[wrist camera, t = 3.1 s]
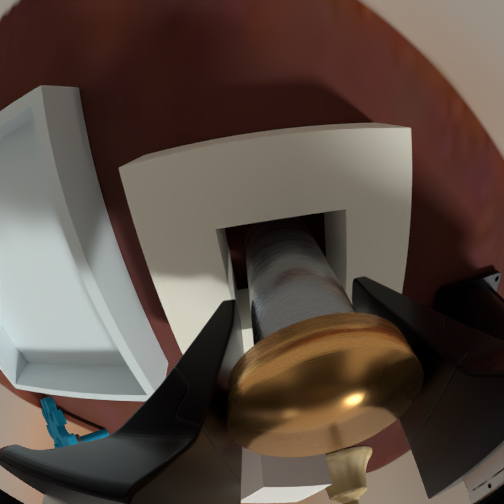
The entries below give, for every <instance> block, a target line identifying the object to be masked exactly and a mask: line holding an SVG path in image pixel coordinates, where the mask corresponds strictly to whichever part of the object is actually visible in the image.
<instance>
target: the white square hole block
mask: <svg viewBox="0 0 504 504" xmlns="http://www.w3.org/2000/svg"><path fill="white" fill-rule="evenodd" d="M119 172H120V176H121V180H122V183H123V187H124V191H125V195H126V198H127V202H128V205H129V209H130V212H131V216H132V219H133V222H134V226H135V229H136V232H137V235H138V239H139V242H140V245H141V248H142V251H143V254H144V257H145V260H146V263H147V265H148V268H149V271H150V274H151V277H152V280H153V282H154V285H155V288H156V290H157V293H158V296H159V298H160V301H161V304H162V306H163V309H164V311H165V314H166V316H167V319H168V321H169V324H170V326H171V328H172V331H173V333H174V336H175V338H176V340H177V343H178V345H179V347H180V349H181V352H182V354H184V353H185V352H186V350H187V349H188V348H189V346H190V345H191V343H192V342H193V341H194V339H195V338H196V337H197V335H198V334H199V333H200V331H201V330H202V328H203V327H204V326H205V324H206V323H207V322H208V320H209V319H210V318H211V316H212V315H213V313H214V312H215V311H216V309H217V308H218V307H219V305H220V304H221V303H222V301H225V300H231V299H235V300H236V303H237V307H238V311H239V316H240V320H241V328H242V338H243V347H244V354H245V353H246V352H247V351H248V350H249V349H250V348H251V347H253V346H254V343H253V332H252V321H251V310H250V299H249V288H246V289H240V290H237V285H236V280H235V276H234V271H233V266H232V262H231V257H230V252H229V247H228V242H227V237H226V233H225V228H226V227H232V226H238V225H245V224H251V223H257V222H263V221H269V220H276V219H282V218H289V217H295V216H302V215H309V214H316V213H323V212H324V225H325V247H326V259H327V261H328V263H329V264H330V266H331V268H332V270H333V271H334V273H335V275H336V277H337V278H338V280H339V282H340V284H341V285H342V287H343V289H344V291H345V292H346V294H347V296H348V298H349V300H350V301H351V303H352V283H353V279H354V278H358V277H363V276H365V277H368V278H370V279H372V280H374V281H376V282H378V283H380V284H382V285H384V286H386V287H388V288H391V289H393V290H395V291H397V292H399V293H401V294H402V290H403V283H404V276H405V269H406V261H407V252H408V243H409V231H410V218H411V198H412V143H411V128H409V127H402V126H396V125H389V124H381V123H348V124H330V125H316V126H305V127H295V128H285V129H277V130H269V131H261V132H254V133H248V134H241V135H235V136H229V137H223V138H218V139H213V140H207V141H202V142H197V143H193V144H188V145H183V146H179V147H174V148H170V149H166V150H162V151H158V152H154V153H150V154H146V155H143V156H141V157H139V158H137V159H135V160H133V161H131V162H129V163H127V164H125V165H123V166H121V167H119ZM352 305H353V304H352Z"/></svg>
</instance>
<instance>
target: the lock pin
mask: <svg viewBox="0 0 504 504" xmlns="http://www.w3.org/2000/svg"><path fill="white" fill-rule="evenodd" d="M245 253H246V265H247V276H248V288H249V299H250V310H251V321H252V332H253V343H254V346H253V347H251V348H250V349H249V350H248V351H247V352H246V353H245V354H244V355H243V356H242V357H241V358H240V359H239V360H238V361H237V363H236V364H235V366H234V367H233V369H232V371H231V373H230V375H229V378H228V383H227V426H228V431H229V434H230V435H231V437H232V438H233V440H234V441H236V442H237V443H238V444H239V445H241V446H242V447H244V448H246V449H248V450H250V451H253V452H256V453H259V454H263V455H267V456H274V457H307V456H314V455H320V454H325V453H329V452H333V451H337V450H340V449H343V448H346V447H349V446H352V445H354V444H357V443H359V442H361V441H363V440H365V439H367V438H369V437H371V436H373V435H375V434H377V433H378V432H380V431H381V430H383V429H385V428H386V427H387V426H389V425H390V424H392V423H393V422H394V421H395V420H397V419H398V418H399V417H400V416H401V415H402V414H403V413H404V412H405V411H406V410H407V409H408V408H409V407H410V406H411V404H412V403H413V402H414V400H415V399H416V397H417V396H418V394H419V392H420V390H421V387H422V384H423V379H424V371H423V368H422V365H421V363H420V361H419V360H418V358H417V356H416V355H415V353H414V352H413V350H412V348H411V347H410V345H409V343H408V342H407V340H406V339H405V337H404V336H403V334H402V333H401V331H400V330H399V328H398V327H397V326H395V325H394V324H393V323H392V322H390V321H388V320H387V319H385V318H382V317H379V316H376V315H372V314H367V313H357V312H356V310H355V309H354V307H353V305H352V303H351V301H350V300H349V298H348V296H347V294H346V292H345V291H344V289H343V287H342V285H341V284H340V282H339V280H338V278H337V277H336V275H335V273H334V271H333V270H332V268H331V266H330V264H329V263H328V261H327V259H326V258H325V256H324V254H323V253H322V251H321V249H320V248H319V246H318V244H317V243H316V241H315V239H314V238H313V236H312V234H311V233H310V231H309V229H308V228H307V226H306V225H305V223H304V222H303V221H302V219H301V218H299V217H298V216H295V217H289V218H282V219H276V220H269V221H263V222H257V223H251V225H250V226H249V228H248V230H247V232H246V235H245Z"/></svg>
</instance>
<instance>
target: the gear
mask: <svg viewBox="0 0 504 504" xmlns="http://www.w3.org/2000/svg"><path fill="white" fill-rule="evenodd" d="M40 401H41V404H42V407H43V409H42V414H43V416H44V418H45V420H46V422H47V424H48V425H47V429H48V432H49V434H50V436H51V437H52V438H53V439H54V443H55V444H54V446H55V448H60V447H65V446H70V445H75V444H79V443H84V442H88V441H92V440H96V439H100V438H104V437H106V436H109V433H108V431H107V430H106V429H102V430H99V431H96V432H93V433H90V434H87V435H84V436H81V437H80V436H79V435H78V434H76V435H74V434H73V433H72V434H69V433H68V432H67V430H66V429H65V426H64V425H65V424H67V423H66V419H65V417H64V415H63V413H62V411H61V410H57V408H56V404H55V402H54V400H53V399H52V397H46V398H43V399H40Z"/></svg>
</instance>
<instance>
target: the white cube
mask: <svg viewBox="0 0 504 504" xmlns="http://www.w3.org/2000/svg"><path fill="white" fill-rule="evenodd" d="M331 484H332V480H331V476H330V471H329V467H328V463H327V458H326V454H320V455H314V456H307V457H274V456H267V455H263V454H259V453H256V452H253V451H250V450H248V449H246V448H244V447H242V475H241V503H288V502H298V501H300V500H303V499H304V498H307V497H309V496H311V495H313V494H315V493H317V492H318V491H320V490H322V489H324V488H326V487H328V486H330V485H331Z"/></svg>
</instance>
